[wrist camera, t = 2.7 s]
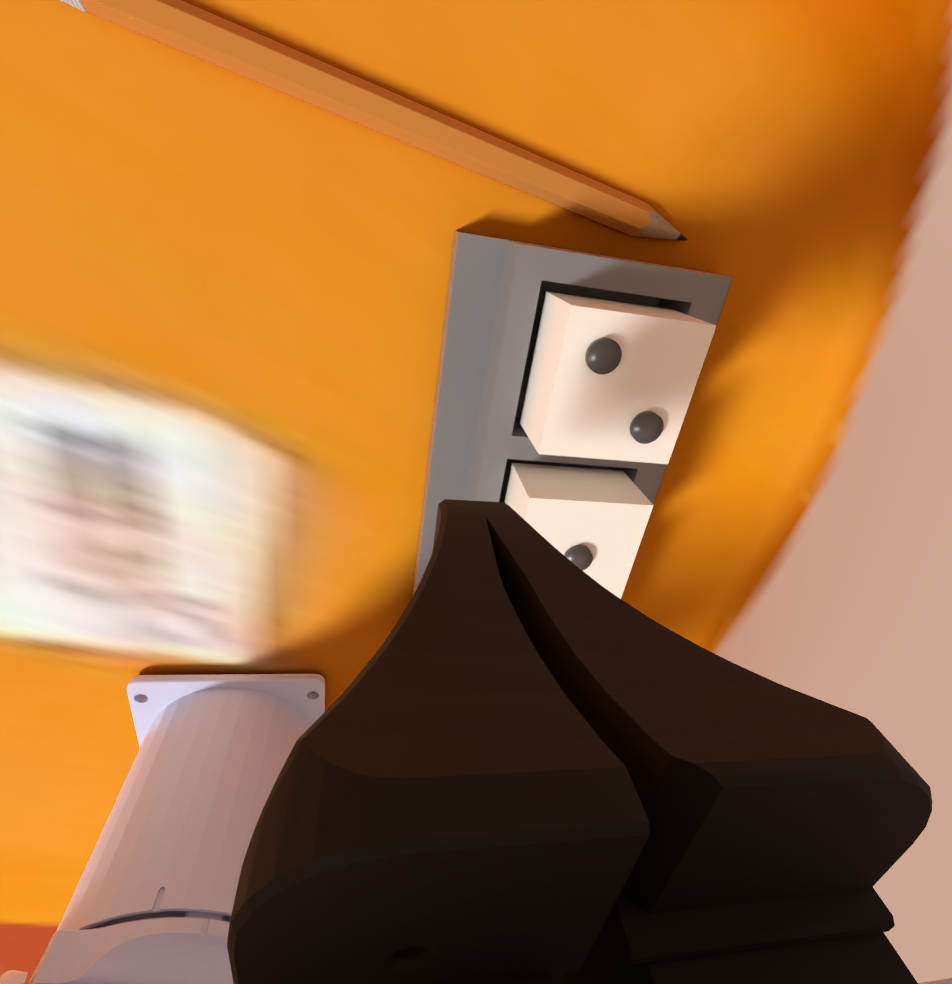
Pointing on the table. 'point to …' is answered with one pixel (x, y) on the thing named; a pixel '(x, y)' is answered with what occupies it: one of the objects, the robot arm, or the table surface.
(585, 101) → the table surface
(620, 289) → the tile board
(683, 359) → the tile two
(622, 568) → the tile one
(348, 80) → the pencil
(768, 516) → the table surface
